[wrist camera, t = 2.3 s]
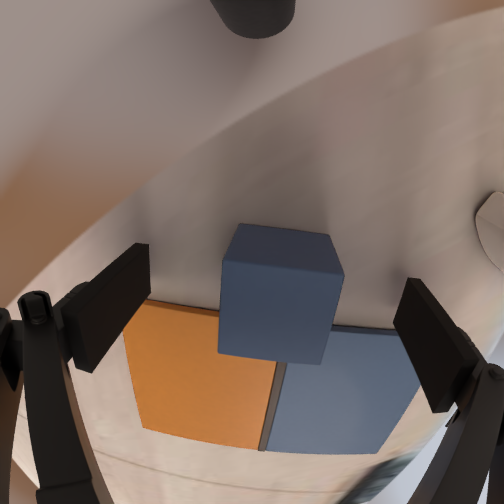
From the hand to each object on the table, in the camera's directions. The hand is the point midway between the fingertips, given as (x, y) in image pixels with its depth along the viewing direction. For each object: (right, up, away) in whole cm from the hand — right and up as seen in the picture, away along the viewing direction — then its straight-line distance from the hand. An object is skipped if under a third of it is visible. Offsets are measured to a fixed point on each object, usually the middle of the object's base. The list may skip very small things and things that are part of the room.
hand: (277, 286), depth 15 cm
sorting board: (0, -8, +5) cm, 9 cm away
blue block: (0, +1, +1) cm, 1 cm away
